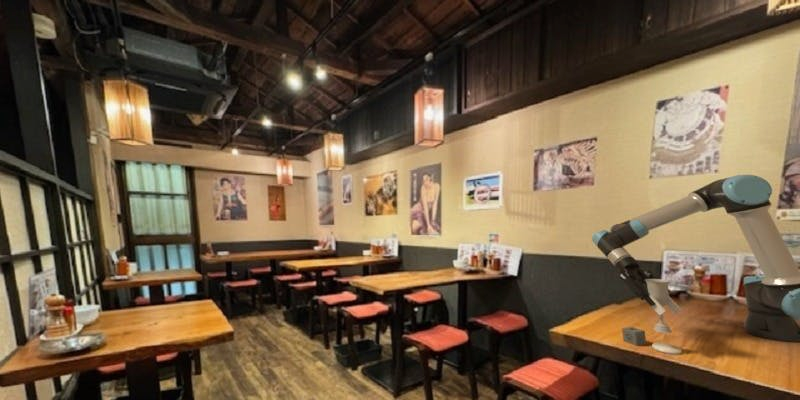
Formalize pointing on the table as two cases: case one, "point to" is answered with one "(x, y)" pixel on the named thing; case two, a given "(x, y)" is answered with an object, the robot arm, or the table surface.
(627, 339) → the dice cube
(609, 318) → the table surface
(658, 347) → the coaster
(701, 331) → the table surface
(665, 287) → the chalice
